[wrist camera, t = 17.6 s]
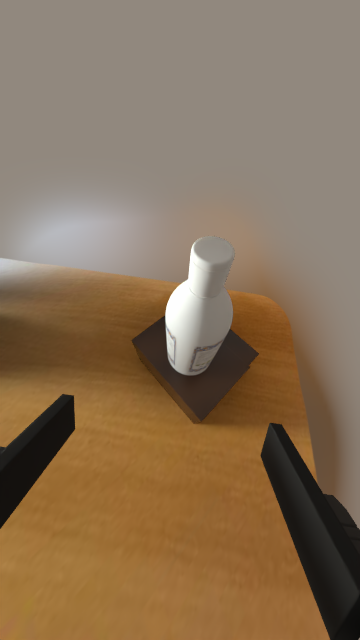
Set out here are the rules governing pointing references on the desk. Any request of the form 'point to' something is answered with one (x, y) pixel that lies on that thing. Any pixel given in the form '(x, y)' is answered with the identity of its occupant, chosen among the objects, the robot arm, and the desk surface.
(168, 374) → the stepped brown block
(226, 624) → the desk surface
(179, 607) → the desk surface
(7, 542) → the desk surface
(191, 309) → the bath foam
